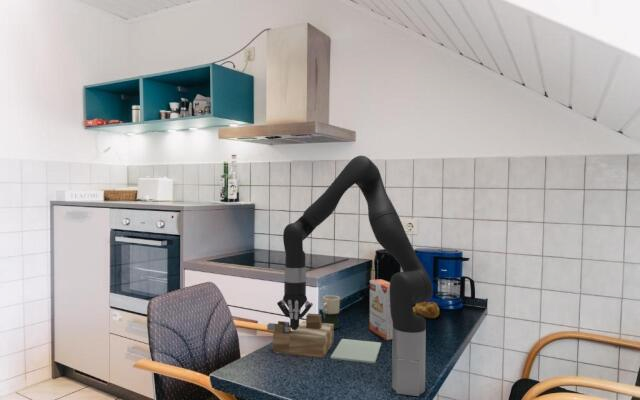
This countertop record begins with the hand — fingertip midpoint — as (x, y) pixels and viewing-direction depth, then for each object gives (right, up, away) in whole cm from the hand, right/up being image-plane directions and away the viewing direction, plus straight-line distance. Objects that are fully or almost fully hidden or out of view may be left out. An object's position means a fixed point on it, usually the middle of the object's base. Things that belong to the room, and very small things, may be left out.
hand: (294, 329), depth 145 cm
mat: (+22, -8, +2) cm, 24 cm away
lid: (+6, -3, +4) cm, 8 cm away
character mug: (+13, -9, +28) cm, 32 cm away
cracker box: (+34, -9, +21) cm, 41 cm away
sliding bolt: (-6, -1, +1) cm, 6 cm away
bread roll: (+58, -9, +48) cm, 76 cm away
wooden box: (+3, -8, +5) cm, 10 cm away
